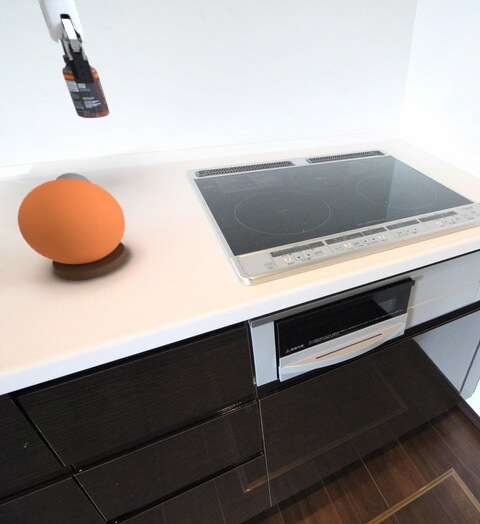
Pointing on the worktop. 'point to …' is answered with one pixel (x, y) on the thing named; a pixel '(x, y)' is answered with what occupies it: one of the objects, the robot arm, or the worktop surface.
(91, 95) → the supplement bottle
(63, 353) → the worktop surface
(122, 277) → the worktop surface
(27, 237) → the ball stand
